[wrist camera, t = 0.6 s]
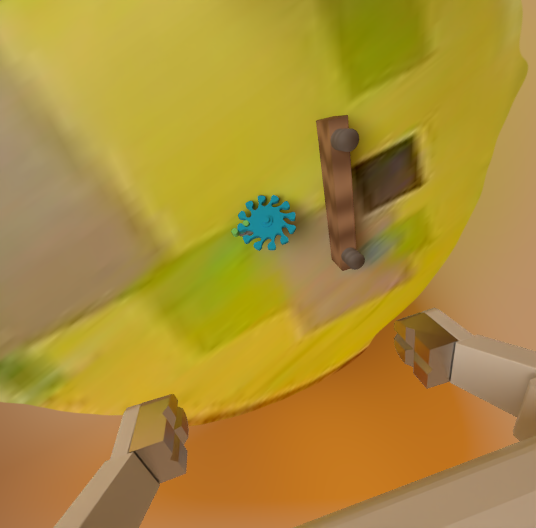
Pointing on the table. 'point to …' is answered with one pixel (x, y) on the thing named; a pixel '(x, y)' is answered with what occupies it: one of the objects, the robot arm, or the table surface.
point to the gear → (265, 223)
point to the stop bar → (339, 188)
